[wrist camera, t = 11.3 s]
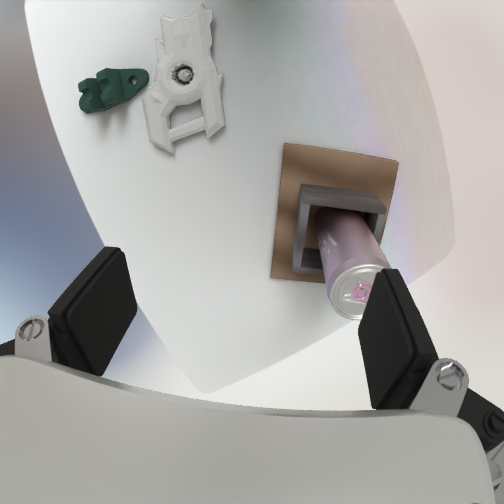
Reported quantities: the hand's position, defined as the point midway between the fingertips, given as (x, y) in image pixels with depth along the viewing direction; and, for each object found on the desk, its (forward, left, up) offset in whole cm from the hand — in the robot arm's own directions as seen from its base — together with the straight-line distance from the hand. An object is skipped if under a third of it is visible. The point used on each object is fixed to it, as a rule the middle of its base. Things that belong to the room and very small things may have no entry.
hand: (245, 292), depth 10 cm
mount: (-9, -21, -27) cm, 36 cm away
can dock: (+7, +8, -27) cm, 29 cm away
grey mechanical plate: (-9, -11, -27) cm, 31 cm away
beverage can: (+7, +9, -26) cm, 28 cm away
